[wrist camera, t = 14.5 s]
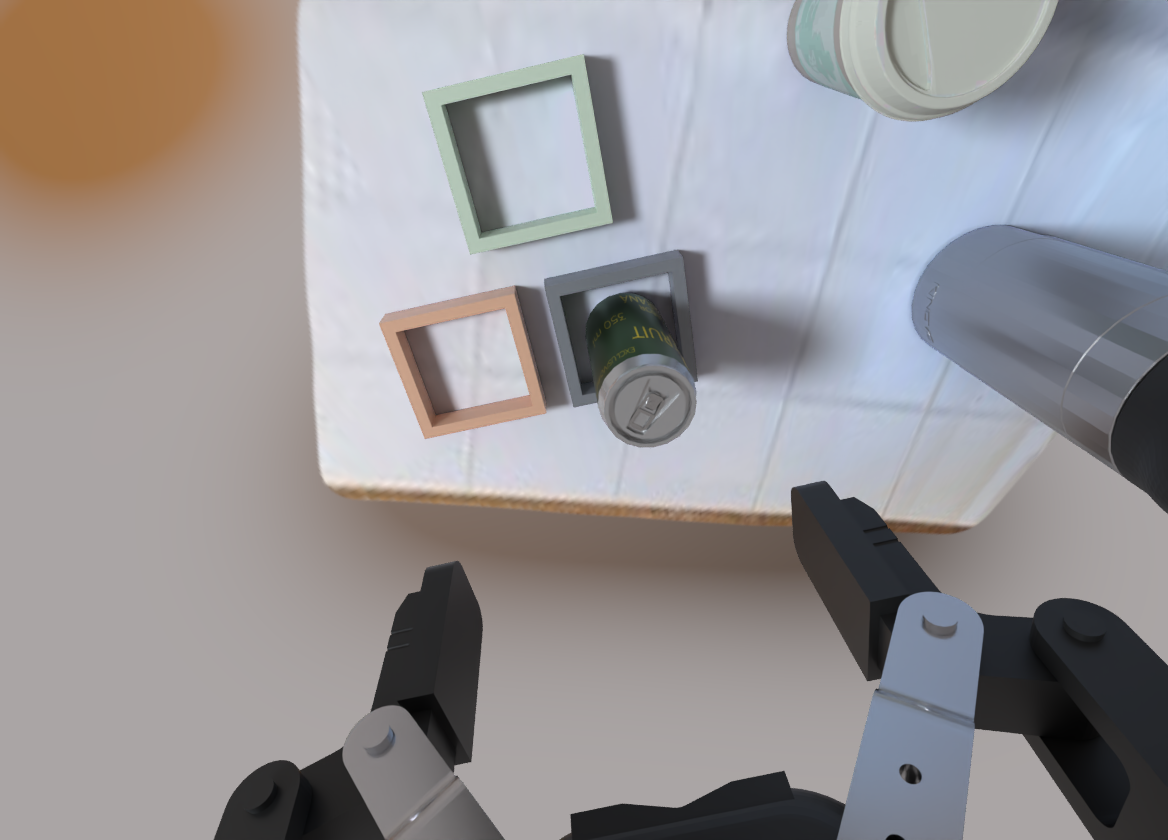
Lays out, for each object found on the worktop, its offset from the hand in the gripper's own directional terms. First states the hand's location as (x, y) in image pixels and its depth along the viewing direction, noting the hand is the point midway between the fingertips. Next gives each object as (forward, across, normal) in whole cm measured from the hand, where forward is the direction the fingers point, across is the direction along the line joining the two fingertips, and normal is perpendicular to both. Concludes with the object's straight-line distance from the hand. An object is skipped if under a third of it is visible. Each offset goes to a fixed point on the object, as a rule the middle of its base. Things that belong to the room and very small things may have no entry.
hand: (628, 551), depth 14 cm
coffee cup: (+29, -18, -9) cm, 35 cm away
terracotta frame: (+29, +8, +6) cm, 31 cm away
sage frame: (+29, +1, -6) cm, 29 cm away
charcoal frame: (+29, -3, +6) cm, 29 cm away
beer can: (+29, -3, +6) cm, 30 cm away
